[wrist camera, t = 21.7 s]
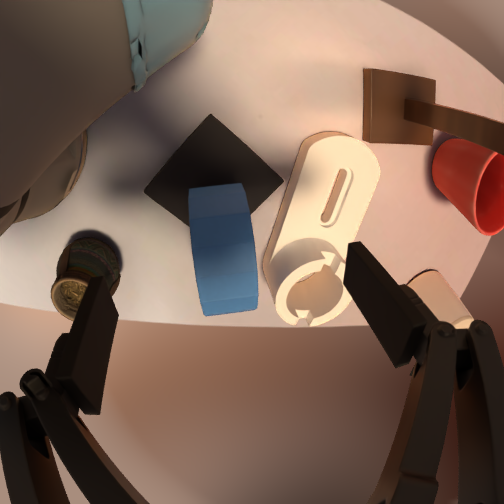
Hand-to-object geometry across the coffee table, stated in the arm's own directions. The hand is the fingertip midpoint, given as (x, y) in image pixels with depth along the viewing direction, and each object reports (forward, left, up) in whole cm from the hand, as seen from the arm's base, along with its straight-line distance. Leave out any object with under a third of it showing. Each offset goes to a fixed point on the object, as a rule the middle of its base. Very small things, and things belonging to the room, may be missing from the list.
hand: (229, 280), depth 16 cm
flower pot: (+20, +23, -17) cm, 35 cm away
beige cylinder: (+37, +8, -6) cm, 38 cm away
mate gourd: (-5, -15, -17) cm, 23 cm away
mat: (0, 0, -17) cm, 17 cm away
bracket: (+11, +4, -17) cm, 21 cm away
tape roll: (+3, -3, -11) cm, 11 cm away
